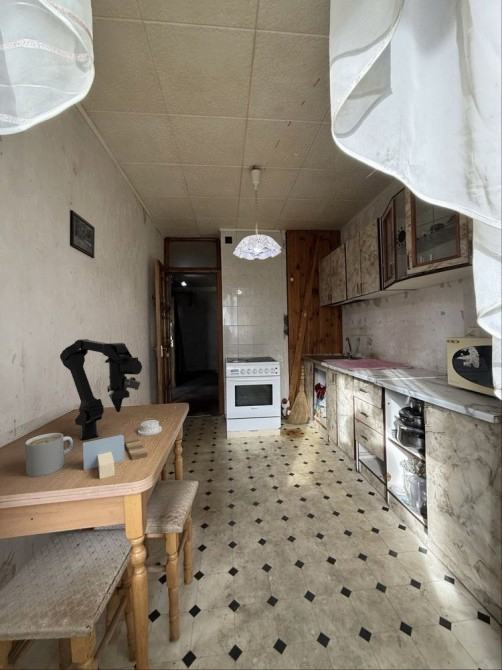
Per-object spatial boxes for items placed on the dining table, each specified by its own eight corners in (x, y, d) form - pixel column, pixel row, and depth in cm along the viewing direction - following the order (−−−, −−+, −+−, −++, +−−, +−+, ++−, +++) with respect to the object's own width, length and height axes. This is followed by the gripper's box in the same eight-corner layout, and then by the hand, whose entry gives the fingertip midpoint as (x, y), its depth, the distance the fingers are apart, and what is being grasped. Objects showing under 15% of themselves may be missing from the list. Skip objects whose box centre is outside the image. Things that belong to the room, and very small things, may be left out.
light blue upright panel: (83, 466, 90) (82, 442, 89) (123, 456, 96) (122, 434, 96) (84, 483, 79) (83, 456, 79) (128, 471, 86) (127, 446, 86)
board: (125, 444, 107) (124, 441, 107) (138, 441, 109) (138, 438, 109) (131, 460, 93) (131, 456, 93) (147, 456, 96) (147, 452, 96)
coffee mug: (31, 480, 82) (30, 447, 81) (22, 470, 88) (21, 440, 87) (80, 462, 92) (79, 433, 92) (69, 455, 98) (68, 427, 98)
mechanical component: (133, 435, 116) (154, 437, 114) (132, 425, 116) (153, 426, 114) (146, 427, 126) (165, 428, 124) (146, 418, 126) (165, 419, 124)
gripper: (142, 374, 106) (143, 413, 106) (134, 369, 122) (135, 403, 122) (111, 377, 100) (112, 419, 100) (106, 371, 116) (107, 407, 116)
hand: (118, 411), depth 110 cm, fingers closed
